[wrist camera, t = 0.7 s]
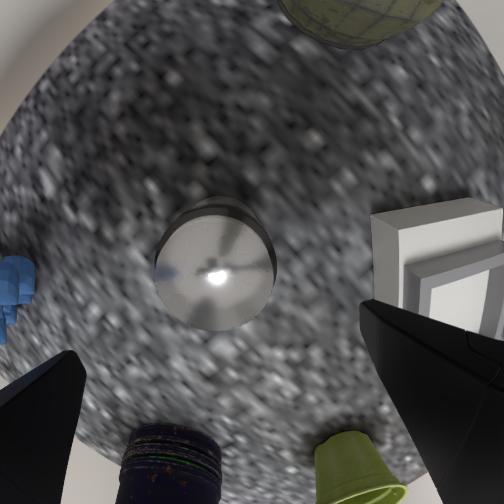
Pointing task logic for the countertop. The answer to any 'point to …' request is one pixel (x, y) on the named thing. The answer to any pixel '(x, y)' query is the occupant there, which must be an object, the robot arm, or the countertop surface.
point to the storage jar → (170, 467)
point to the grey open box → (443, 263)
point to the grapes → (14, 289)
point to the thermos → (356, 19)
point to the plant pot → (354, 472)
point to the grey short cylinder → (215, 265)
